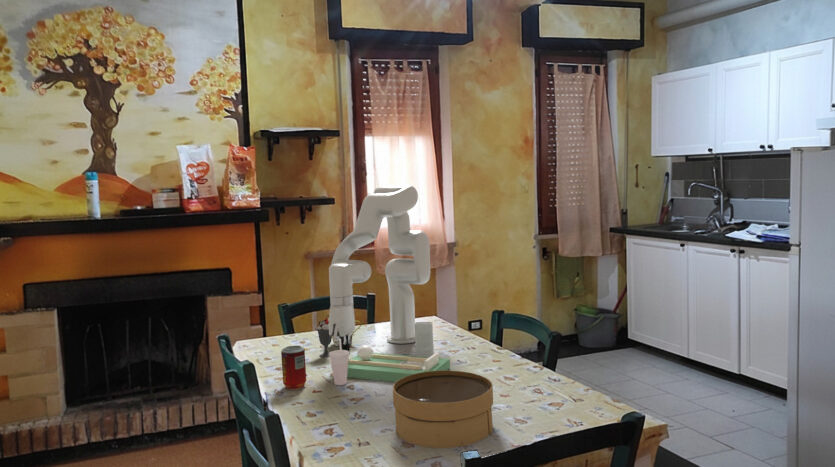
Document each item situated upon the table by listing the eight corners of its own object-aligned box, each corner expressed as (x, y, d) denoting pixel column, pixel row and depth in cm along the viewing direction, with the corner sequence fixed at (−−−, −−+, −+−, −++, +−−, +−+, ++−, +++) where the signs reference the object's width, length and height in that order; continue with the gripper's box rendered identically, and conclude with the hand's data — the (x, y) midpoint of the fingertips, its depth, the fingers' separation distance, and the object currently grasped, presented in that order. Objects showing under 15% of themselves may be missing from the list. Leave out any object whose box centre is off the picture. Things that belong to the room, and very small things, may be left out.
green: (363, 360, 222) (362, 343, 221) (449, 367, 209) (449, 349, 209) (336, 376, 205) (335, 357, 205) (428, 385, 193) (428, 365, 192)
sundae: (334, 357, 227) (332, 316, 225) (315, 358, 227) (313, 316, 226) (337, 352, 233) (335, 312, 232) (318, 353, 233) (316, 312, 232)
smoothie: (347, 386, 194) (345, 341, 193) (327, 386, 195) (324, 341, 194) (353, 380, 200) (351, 336, 199) (334, 379, 202) (331, 336, 200)
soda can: (311, 384, 198) (309, 345, 196) (296, 391, 192) (293, 351, 190) (294, 381, 201) (291, 343, 200) (278, 388, 195) (275, 349, 194)
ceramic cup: (325, 346, 242) (323, 320, 241) (336, 340, 252) (334, 315, 251) (357, 348, 238) (355, 321, 238) (366, 341, 248) (365, 315, 247)
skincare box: (434, 354, 225) (432, 321, 224) (433, 358, 221) (431, 324, 220) (417, 355, 226) (415, 321, 225) (415, 358, 222) (414, 324, 221)
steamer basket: (486, 407, 173) (485, 366, 172) (502, 447, 148) (500, 399, 147) (394, 412, 172) (392, 371, 171) (394, 453, 147) (392, 406, 146)
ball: (362, 357, 214) (362, 343, 214) (376, 359, 212) (375, 344, 212) (355, 362, 210) (354, 347, 209) (369, 363, 208) (368, 348, 207)
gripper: (343, 296, 221) (345, 348, 222) (319, 304, 207) (322, 360, 209) (362, 297, 218) (364, 350, 219) (340, 305, 204) (342, 362, 206)
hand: (344, 355), depth 214 cm, fingers closed
